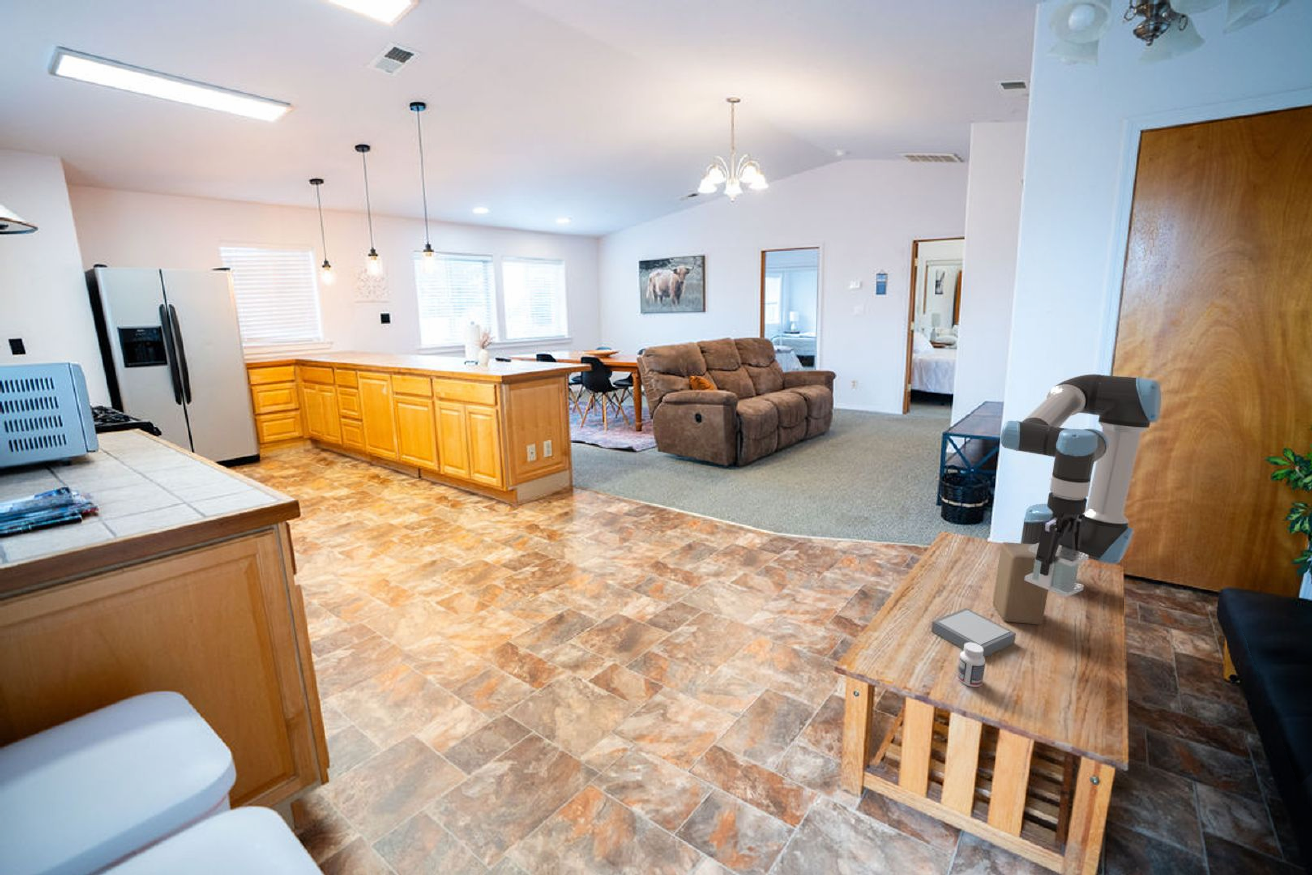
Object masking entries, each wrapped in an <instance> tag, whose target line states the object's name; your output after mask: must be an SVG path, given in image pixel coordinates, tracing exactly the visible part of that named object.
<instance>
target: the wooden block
mask: <svg viewBox="0 0 1312 875" xmlns="http://www.w3.org/2000/svg"><path fill="white" fill-rule="evenodd" d="M1031 545H1034V544H1023V543H1021V542H1019V543H1018V542H1009V541H1007V542H1005V541H1004V542H1002V543H1001V546H1000V553H999V558H998V565H997V571H996V572H997V573H996V578H995V585H994V592H993V599H992V605H993V606H994V608H995V609H996V611H997V612H998V614H999V616H1000V617H1001V618H1002V621H1005V622H1007V623H1009V622H1010V623H1019V624H1030V625H1042V624H1043V622H1044V615H1045V611H1046V604H1047V598H1048V593H1049V590H1047V589H1045V588H1042V587H1040V586H1037V585H1035V584H1032V583H1030V582H1027V581H1025V580H1024V579H1025V576H1026V575H1028V574H1031V573H1033V570H1034V563H1035V556H1036V554H1035V553H1033V552H1030V551H1028V550H1029V546H1031Z"/></svg>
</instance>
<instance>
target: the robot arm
mask: <svg viewBox="0 0 1312 875" xmlns="http://www.w3.org/2000/svg"><path fill="white" fill-rule="evenodd" d="M1161 390H1162V389H1161V385H1160V383H1159V382H1158V381H1156V380H1154V379H1150V378H1144V377H1131V376H1117V375H1106V374H1105V375H1103V374H1095V373H1093V374H1082V375H1078V376H1074V377H1071V378H1069V379H1065V380H1064V381H1062V382H1060V383H1057V384H1056V385H1055V386H1053V387H1052V388H1051V389H1050V390H1049V392H1048V393H1047V395H1046V399H1045V400H1044V401H1042V402H1041V404H1040V405H1039V406H1037V407H1036V408H1035V410H1033V411H1032V412H1031V413H1030V414H1029V415H1027V417H1026V418H1024V420H1022V421H1019V420H1007V421H1006V422H1005V423H1004V425H1003V426H1002V428H1001V432H1000V444H1001V446H1002V447H1003V448H1004V449H1008V450H1012V451H1016V452H1023V453H1030V454H1034V455H1035V454H1036V455H1040V456H1041V455H1042V456H1047V457H1053V458H1054V461H1053V467H1052V472H1051V473H1052V475H1051V476H1050V487H1049V491H1050V492H1049V493H1048V497H1047V502H1046V503H1036V504H1033V505H1030V506H1028V507H1027V509H1026V511H1025V515H1024V518H1023V526H1022V532H1021V540H1020V543H1023V544H1037V543H1039V546H1038V550H1037V554H1036V560H1038V561H1041V565H1040V571H1039V577H1038V583H1037V584H1038V585H1041V586H1043V587H1046V588H1048V589H1050V588H1051V583H1052V577H1053V571H1054V565H1055V564H1054V563H1053V560H1054V557H1055V555H1056V552H1057V549H1058V547H1059V545H1061V546H1064V547H1067V548H1070V549H1073V550H1076V551H1079V552H1082V553H1085V554H1088V555H1089V557H1088V559H1090V560H1094V561H1097V562H1099V563H1106V564H1109V565H1110V564H1111V565H1116V564H1119V563H1120V562H1121V561H1122V559H1123V558H1124V556H1125V554H1126V553H1127V552H1126V551H1127V550H1128V548H1129V545H1130V544H1131V543H1130V542H1132V538H1133V535H1134V532H1135V530H1134V528H1132V527H1131V526H1129V522H1130V521H1129V519H1128V518H1127V517H1126V515H1125V508H1126V504H1127V499H1128V494H1129V489H1130V486H1131V485H1130V484H1131V480H1132V476H1133V471H1134V467H1135V462H1136V458H1137V452H1138V449H1139V443H1140V439H1141V434H1142V433H1143V432H1145V431H1146V430H1148V429H1150V425H1151V424H1153V423H1157V422H1158V421H1159V419H1160V413H1161V408H1162V391H1161ZM1077 414H1087V415H1093V416H1098V420H1097V423H1098V424H1100V426H1101V427H1102V431H1100V430H1099V429H1095V428H1084V429H1083V428H1082V429H1079V428H1065V427H1062V425H1063V424H1064V423H1065V422H1066V421H1067V420H1068V419H1069V418H1071V416H1075V415H1077ZM1094 463H1095V469H1094V473H1093V467H1094ZM1092 474H1093V478H1092ZM1091 479H1092V482H1091ZM1090 486H1091V487H1090ZM1088 496H1089V497H1088ZM1087 497H1088V499H1087ZM1087 501H1088V502H1087Z"/></svg>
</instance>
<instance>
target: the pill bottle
mask: <svg viewBox="0 0 1312 875" xmlns="http://www.w3.org/2000/svg"><path fill="white" fill-rule="evenodd" d="M983 651H984V649H983V647H982V646H980V645H978V644H976V643H971V642H968V643H965V645H964V650H963V651H961V652H960V654H959V662H958V666H957V667H958V669H957V679H958V681H959V682H960V683H961V684H963V685H965V686H968V687H971V688H978V687H980V686H982V685H983V682H984V675H985V667H986V658H985V657H983Z"/></svg>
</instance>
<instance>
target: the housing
mask: <svg viewBox="0 0 1312 875" xmlns="http://www.w3.org/2000/svg"><path fill="white" fill-rule="evenodd" d="M1038 546H1039V543H1037V544H1034V545H1031V546H1029V550H1028V551H1030V552H1033V553H1035V554H1037V550H1038ZM1088 557H1089V555H1088V554H1085V553H1082V552H1079V551H1076V550H1073V549H1070V548H1067V547H1064V546H1061V545H1059V547H1058V549H1057V552H1056V555H1055V557H1054V560H1053V563H1054V564H1055V565H1054V571H1053V577H1052V583H1051V588H1050V589H1048V588H1046V587H1043V586H1041V585H1038V584H1037V583H1038V577H1039V571H1040V565H1041V561H1038V560H1036V556H1035V563H1034V570H1033V573H1031V574H1028V575H1026V576H1025V579H1024V580H1025V581H1027V582H1030V583H1032V584H1035V585H1037V586H1040V587H1042V588H1045V589H1047V590H1048V591H1050V592H1052V593H1055V594H1057V595H1060V596H1063V597H1065V598H1069V597H1070V596H1073V595H1075V594H1077V593H1080V592H1081V591H1083V590H1084V584H1081V583H1079V582H1077V578H1078V577H1077V576H1078V573H1079V572H1078V570H1079V565H1080V564H1081V563H1083V562H1085V561H1087V560H1089V558H1088Z"/></svg>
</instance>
